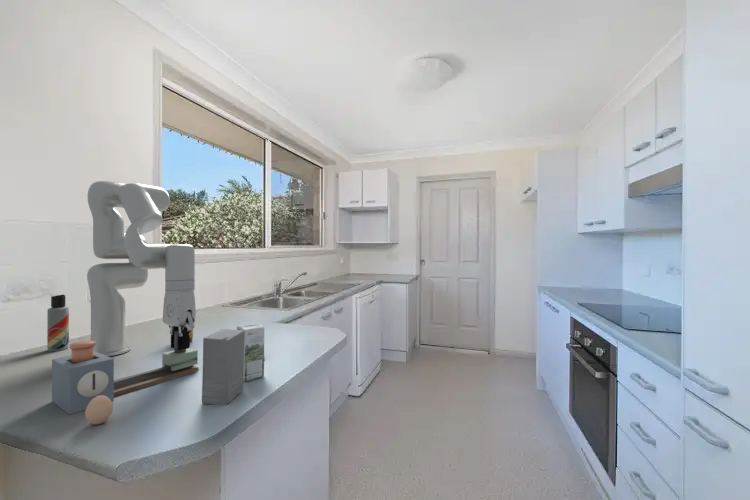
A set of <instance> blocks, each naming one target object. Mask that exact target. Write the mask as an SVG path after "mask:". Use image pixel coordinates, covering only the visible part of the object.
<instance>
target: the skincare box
mask: <svg viewBox="0 0 750 500" xmlns="http://www.w3.org/2000/svg"><path fill="white" fill-rule="evenodd" d="M244 339H245V331H243V330H237V329H229V328H228V329H227V328H222V329H220V330H217V331H216V332H213V333H212V334H209V335H207V336H205V337H203V340H202V344H203V345H202V379H201V381H202V383H201V403H202V404H203V405H204V404H205V405H215V406H216V405H219V406H227V405H229V403H230V402H231V401H233V400H235V398H236V397H237V396H238V395H240V393H241V392H243V391H244V381H243V371H244Z"/></svg>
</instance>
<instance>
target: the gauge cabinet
mask: <svg viewBox="0 0 750 500" xmlns="http://www.w3.org/2000/svg"><path fill="white" fill-rule="evenodd" d="M114 363H115V360H114V358H113V357H112V356H109V357H108V356H106V355H103V354H101V353H98V352H96V351H94V359H93V360H89V361H84V362H80V363H75V364H72V354H71V355H68V356H63V357H56V358H52V359H51V402H52V403H53V404H55V405H56V406H57V407H59V408H60V409H61V410H63V411H64V412H65V413H67V414H68V415H73V414H76V413H80V412H82V411H86V408H87V406H88V404H89V403H90V401H91V400H92V399H93V398H95V397H97V396H99V395H104V396H107V397H108V398H109V399H110V400H111V401H112V402H114V401H115V398H114V380H115V378H114V376H115V375H114V374H115V371H114V369H115V368H114V367H115V366H114V365H115V364H114Z"/></svg>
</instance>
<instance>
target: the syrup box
mask: <svg viewBox="0 0 750 500" xmlns="http://www.w3.org/2000/svg"><path fill="white" fill-rule="evenodd" d="M236 330H243V331H245V339H244V371H243V383H244V382H249V381H252V380H256V379H260V378H264V376H265V326H263V325H262V324H260V323H251V324H245V325H238V326H236Z"/></svg>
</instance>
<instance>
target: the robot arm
mask: <svg viewBox="0 0 750 500" xmlns="http://www.w3.org/2000/svg"><path fill="white" fill-rule="evenodd" d="M87 204H88V207H89V209H90V210H89V211H90V212H91V217H92V248H93V253H94V256H95V257H97V258H98V259H103V260H122V259H123V260H128V262H103V263H98V264H94V265H92V266H90V268H89V269H88V271H87V274H86V281H87V283H88V290H89V295H90V298H89V299H90V341H96V345H95V346H94V351H96V352H98V353H101V354H103V355H106V356H108V357H113V356H117V355H123V354H125V353H128V352H130V351H131V345H129V344H126V301H125V298H124V297H123V296H122V294H121V293H120V292H119V291H118V290H123V289H134V288H140V287H143V286H145V284H146V283H147V280H148V275H149V272H148V271H149V270H156V269H157V270H158V269H163V270H165V271H164V272H165V273H164V275H165V276H164V277H165V278H164V280H165V281H164V289H165V290H164V292H165V293H164V297H163V307H162V309H163V310H162V322H163V324H165V325H167V326H168V328H169V334H170V348H171V349H174V332H175V331H179V336H178V350H183V349H188V348H190V347H191V346H190V345H191V344H190V342H191V341H190V334H191V330H192V329H193V330H194V329H195V323H196V316H197V315H196V298H195V282H196V281H195V280H196V279H195V273H196V272H195V271H196V270H195V265H196V264H195V263H196V262H195V260H196V259H195V253H196V252H195V247H194V246H193V245H192V244H185V243H184V244H181V243H180V244H179V243H177V244H175V243H174V244H173V243H148V241H147V240H146V238H145V237H144V236H143V235H144V234H147V233H149V232H153V231H154V230H156V229H158V228H159V227H160V226H161V225H162V223H163V220H164V219H163V215H162V214H161V212H164V211H167V209H168V208H169V207H170V206H171V205H170V204H171V197H170V195H169V193H168V191H167V190H166V189H164V188H162V187H160V186H155V185H150V184H143V183H137V182H136V183H135V182H134V183H133V182H132V183H131V182H130V183H122V182H115V181H111V180H110V181H108V180H107V181H105V180H99V181H95V182H93V183H92V184H91V185H90V186H89V188H88V191H87ZM116 208H122V209H124V211H125V214H126V216H127V217H128V220H129V221H130V223H131V224H130V225H129V226H128V228H127V229H126V231H125V228H124V225H125V221H124V218H123V216H122V215H121V213H120V212H119V211H118V210H117V209H116ZM184 323H187V324H185V325H183V324H184ZM183 327H186V328H184V329H183Z"/></svg>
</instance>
